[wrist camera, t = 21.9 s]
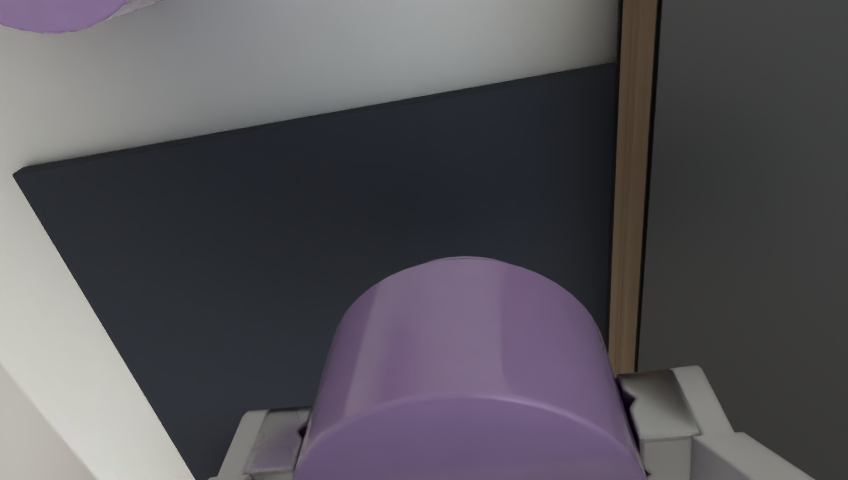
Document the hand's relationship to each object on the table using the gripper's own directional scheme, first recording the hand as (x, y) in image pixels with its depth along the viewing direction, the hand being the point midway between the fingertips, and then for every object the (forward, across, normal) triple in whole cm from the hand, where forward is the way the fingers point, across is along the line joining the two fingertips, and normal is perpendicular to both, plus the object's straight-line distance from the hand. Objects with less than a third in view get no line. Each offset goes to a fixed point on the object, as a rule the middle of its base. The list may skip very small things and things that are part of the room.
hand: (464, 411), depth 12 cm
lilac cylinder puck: (+2, 0, 0) cm, 2 cm away
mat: (+9, +4, +9) cm, 13 cm away
